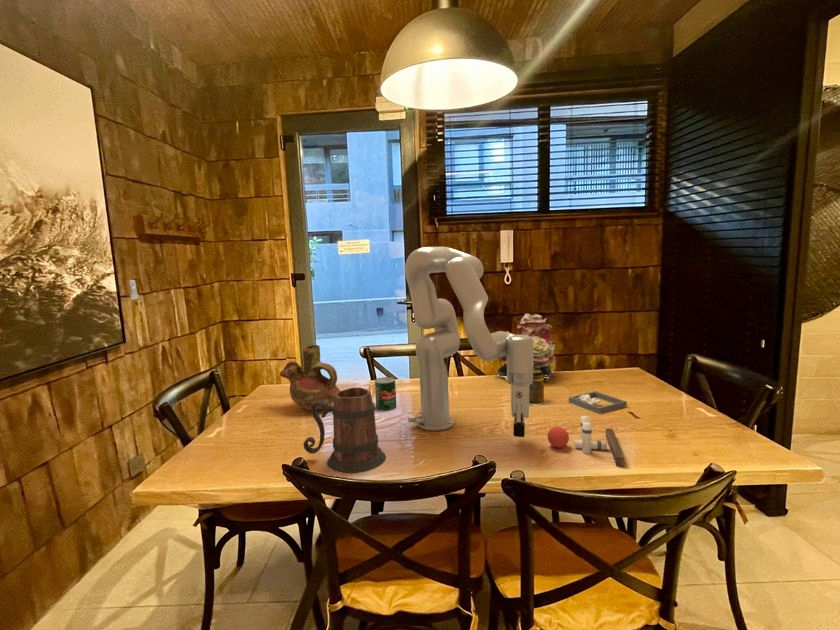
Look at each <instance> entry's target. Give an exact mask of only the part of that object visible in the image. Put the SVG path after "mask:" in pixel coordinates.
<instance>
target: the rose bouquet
mask: <svg viewBox="0 0 840 630" xmlns="http://www.w3.org/2000/svg"><path fill="white" fill-rule="evenodd" d="M546 321H547V317H545V318H544V319H543V315H540V314H537V313H534V314H530V313H528V312H527V313H524V315H523V316H522V318H520V322H518V324H516V327H517V328H516V329H517V331H518V335H528V336H530V337H532V339H533V341H534V350H533V370H541V371H542V372H543V379H544V384H548V382H549V384H550V382H551V381H548V382H547V378H544V377H549V378H548V380H549V379H551V378H554V379H553V380H556V379H557V377H556V376H555V374H554V373H553V372H552V371H551V364H552V363H553V362H555V361H556V359H555V355H554V351H555V348H556V344H555V343H554V340H555V338H556V337H552V335H551V329H553V326H552V325H551V324H547V323H546ZM506 332H508V333H510V332H509V331H508V330H506ZM497 359H498V362H499V363H501V362H507V355H505V356H502V357H499V358H497ZM497 375H499V376H507V363H504V364H503V365H502V366H500V367H499V369H498V370H497V373H496V377H497ZM545 375H547V376H545ZM555 378H556V379H555Z"/></svg>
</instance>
